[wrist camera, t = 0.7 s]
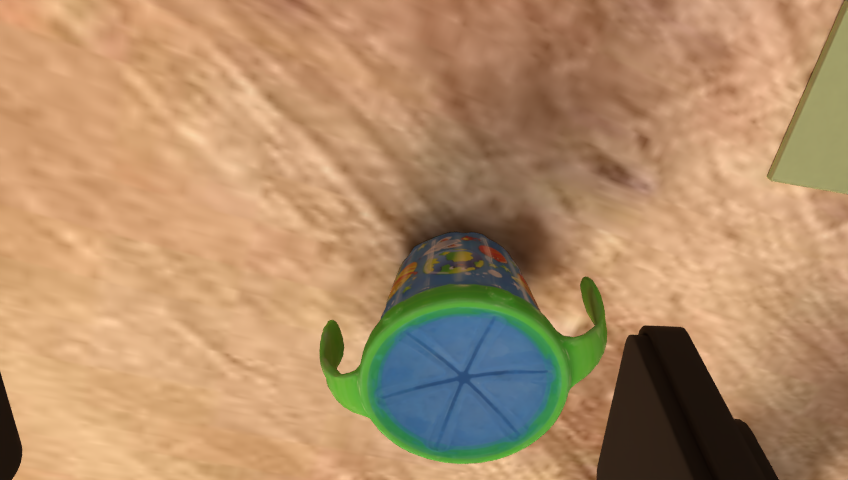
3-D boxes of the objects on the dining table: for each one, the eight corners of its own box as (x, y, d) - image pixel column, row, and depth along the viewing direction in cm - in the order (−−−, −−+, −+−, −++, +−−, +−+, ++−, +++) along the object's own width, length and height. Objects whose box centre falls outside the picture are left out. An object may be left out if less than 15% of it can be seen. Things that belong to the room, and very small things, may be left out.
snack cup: (344, 359, 48) (325, 477, 39) (317, 216, 43) (289, 313, 34) (583, 340, 47) (621, 456, 38) (584, 192, 42) (627, 285, 33)
